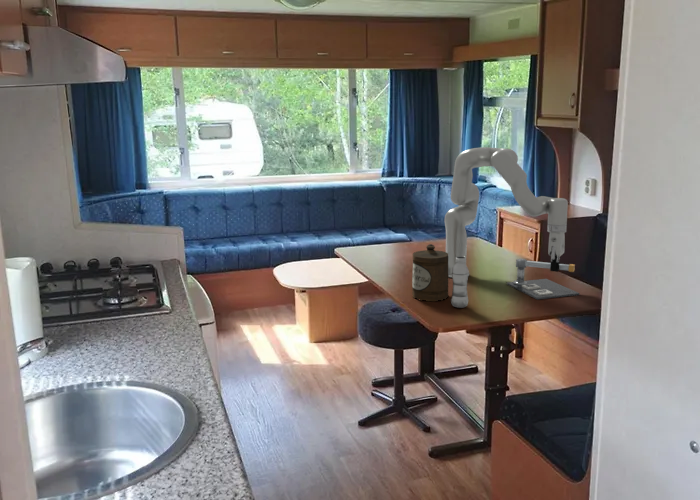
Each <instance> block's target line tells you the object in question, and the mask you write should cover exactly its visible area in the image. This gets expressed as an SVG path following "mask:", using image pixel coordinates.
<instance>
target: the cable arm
mask: <svg viewBox="0 0 700 500" xmlns="http://www.w3.org/2000/svg"><path fill="white" fill-rule="evenodd" d="M575 266H576V264H573V263H569V264H566V263H565V264H564V263H559V271H568V272H570V273H575V270H576V269H575ZM515 267H516V268H525V269H526V268H527V267H529V268H541V269H550V268H551V262H543V261H535V260H533V261H532V260H527V259H525V258H516V259H515Z"/></svg>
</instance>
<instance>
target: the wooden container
mask: <svg viewBox="0 0 700 500" xmlns="http://www.w3.org/2000/svg"><path fill="white" fill-rule="evenodd" d="M435 249H436V246H435V245H434V244H433V243H429V244H427V245H426V250H425V249H424V250H417V251H415V252H413V253H412V278H411V280H412V281H411V284H412V285H411V286H412V289H411V290H412V295H413V296H412V298H414V299H415V298H417V299H416V300H418V299H420V300H419V301H422V300H426V301H425V302H439V301H438V300H441V301H443V299H445V300H447V299H448V298H449V277H448V253H446V251H442V250H435ZM447 297H448V298H447ZM446 298H447V299H446Z"/></svg>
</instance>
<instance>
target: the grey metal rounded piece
mask: <svg viewBox="0 0 700 500" xmlns="http://www.w3.org/2000/svg"><path fill="white" fill-rule="evenodd" d="M516 268H517V270H516V271H517V272H516V279H515V280H513V281H512V282H513V283H514V284H516V285H527V281H528V280H525V269H526V268H518V267H516Z"/></svg>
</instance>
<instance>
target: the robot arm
mask: <svg viewBox="0 0 700 500" xmlns="http://www.w3.org/2000/svg"><path fill="white" fill-rule="evenodd" d="M518 160H519V157H518V154H517V152H515V151H514V149H511V148H503V147H502V148H501V147H500V148H499V147H490V146H489V147H488V146H484V147H483V146H482V147H474V148H473V147H472V148H469V149H466V150H464V151H461V152H460V153H459V154H458V156H456V159H455V161H454V168H453V169H454V170H453V175H452V176H453V177H452V182H451V190H450V200H451V202H452V203H453V204H454V205H457V206H454V207H453V208H450V209H449V210H448V211H447V212H446V213H445V215H444V227H445V252H446V253H448V278H452V268H453V266H454V265H455V264H456V262H455V261H456V257H458V256H462V257H465V258H466V260H465V261H466V262H465V265H466V266H467V248H468V247H467V245H468V235H467V231H466V226H470V225H471V224H473V223H474V222H475V220H476V217H477V214H478V213H477V212H478V206H479V200H480V191H479V190H480V189H479V187H478V186H477V185H476V184H475V183H473V176H474V175H473V174H474V173H473V169H475V168H476V169H477V168H482V167H492V168H494V169H495V170H496V172H497V173H498V174H499V175H500V176H501V177H502V179H503V180H504V181H505V182H506V183H507V185H508V186H509V188H510V189H511V193H512V195H513V197H514V200H515V201H516V203H518V206H519V207H521V208H522V210H523V211H524V212H525V213H526V214H528V215H529V216H531V217H538V216H541V215H546V214H547V228H546V229H547V232H548V233H549V236H548V249H547V250H548V252H547V253H548V256H549V257H550V263H551V268H550V270H549V271H550V272H557V273H558V272H559V271H560V270H559V264H560V259H561V258H560V257H561V256H563V254H565V249H566V248H565V246H566V245H565V243H566V242H565V241H566V240H565V239H566V238H565V233H567V225H568V224H567V223H568V207H569V206H568V205H569V203H568V199H566V198H564V197H550V196H544V195H541V196H537V197H536V196H535V194H534V192H532V190H531V189H530V188H529V185H528V183H527V181H528V179H527V178H528V175H527V172H526V171H525V170H524V169H523V168H522V167H521V166H520V165H519V164H518ZM469 276H470V272H469V273H468V277H469ZM452 279H453V278H452Z"/></svg>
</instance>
